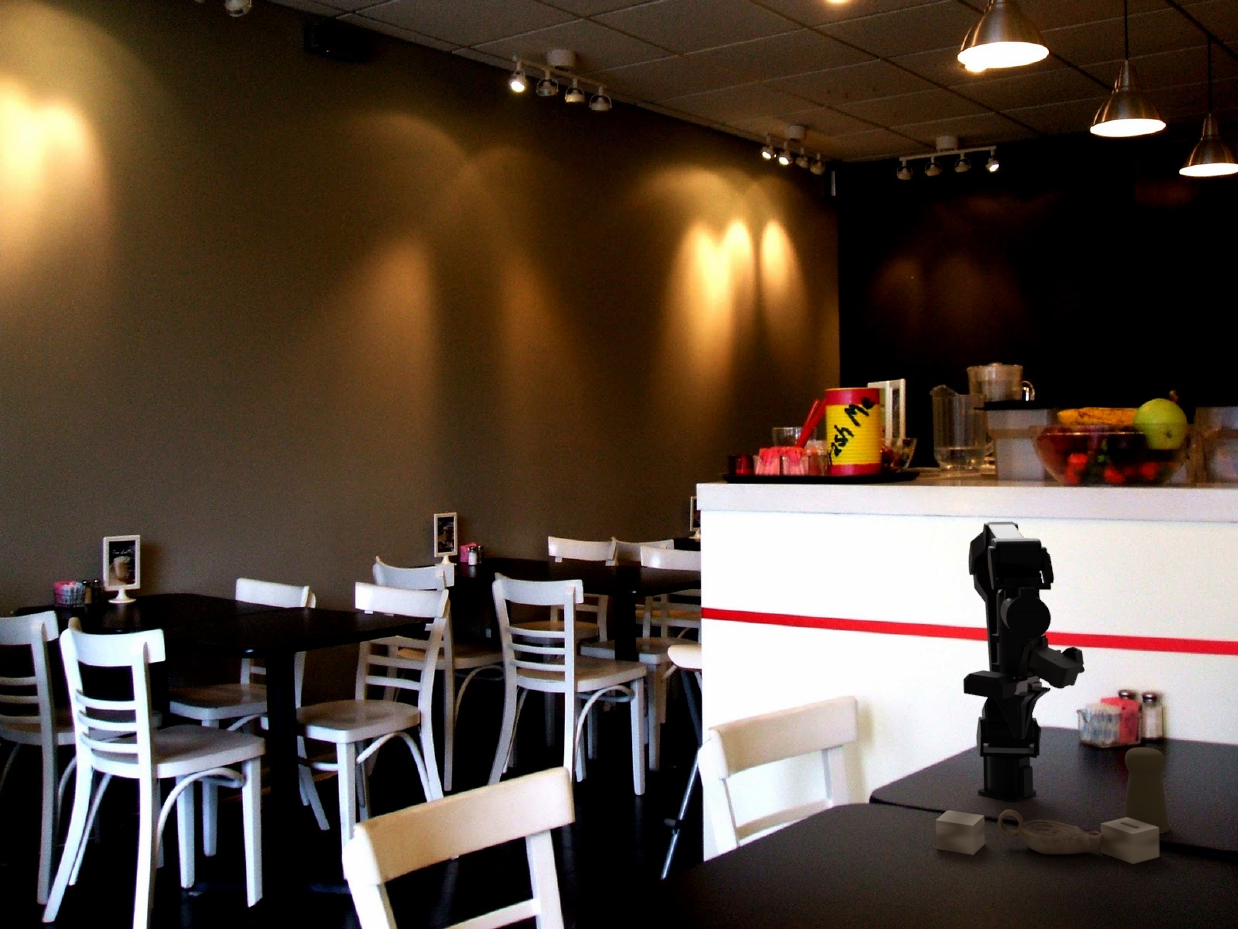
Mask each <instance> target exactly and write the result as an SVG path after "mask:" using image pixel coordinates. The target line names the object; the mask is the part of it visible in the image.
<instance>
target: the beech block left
mask: <svg viewBox="0 0 1238 929" xmlns="http://www.w3.org/2000/svg"><path fill="white" fill-rule="evenodd" d="M985 835H986V833H985V815H984V814H976V813H970V812H963V811H956V810H949V809H948V810H947V811H945V812H944V813H943V814H941V815H940V816H939V817H938V818H937V819H935V848H936V849H937V850H943V851H949V852H955V853H959V854H966V855H971V856H974V855H975V854H976V853H977V852H978V851H979V850H980V849H982V847H983V846H984V845H985V838H986V837H985Z"/></svg>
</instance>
